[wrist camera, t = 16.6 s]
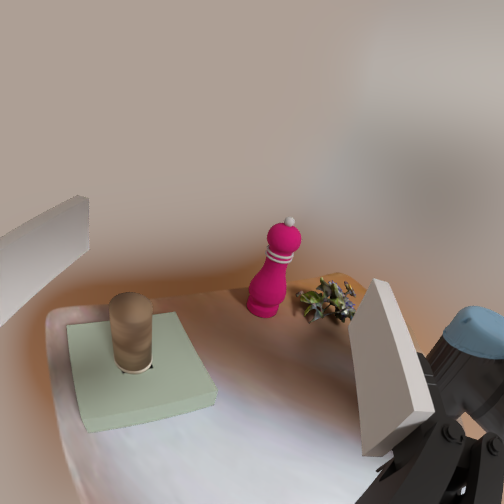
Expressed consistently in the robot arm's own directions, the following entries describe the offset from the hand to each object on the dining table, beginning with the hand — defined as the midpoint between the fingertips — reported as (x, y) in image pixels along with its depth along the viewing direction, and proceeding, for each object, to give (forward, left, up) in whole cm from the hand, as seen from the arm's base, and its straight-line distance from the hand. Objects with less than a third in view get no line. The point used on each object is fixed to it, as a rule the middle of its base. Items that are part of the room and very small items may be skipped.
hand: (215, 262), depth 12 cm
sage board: (0, -16, -30) cm, 34 cm away
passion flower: (-39, -18, -30) cm, 53 cm away
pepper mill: (-28, -25, -30) cm, 48 cm away
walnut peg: (0, -16, -29) cm, 34 cm away
